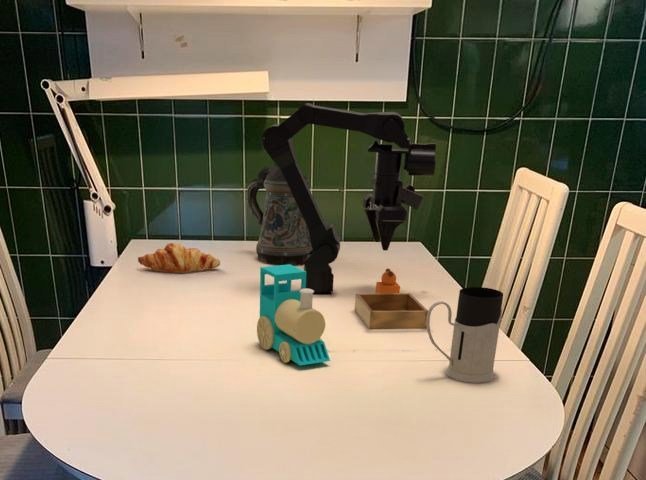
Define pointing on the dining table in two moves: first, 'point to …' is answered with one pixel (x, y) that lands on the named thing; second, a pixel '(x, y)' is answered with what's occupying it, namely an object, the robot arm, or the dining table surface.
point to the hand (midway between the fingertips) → (380, 245)
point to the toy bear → (387, 283)
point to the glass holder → (473, 334)
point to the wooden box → (391, 311)
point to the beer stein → (278, 220)
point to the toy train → (290, 317)
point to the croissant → (178, 259)
